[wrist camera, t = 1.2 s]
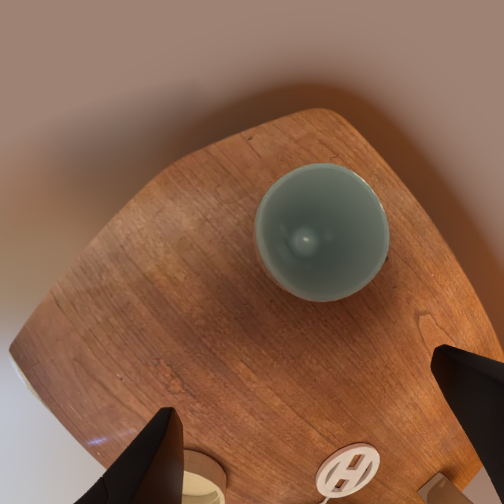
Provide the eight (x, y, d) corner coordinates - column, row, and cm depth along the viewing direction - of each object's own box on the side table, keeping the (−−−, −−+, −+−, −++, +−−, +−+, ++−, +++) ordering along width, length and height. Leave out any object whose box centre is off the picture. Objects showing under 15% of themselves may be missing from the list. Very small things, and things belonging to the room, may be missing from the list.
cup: (310, 186, 25) (346, 141, 16) (352, 262, 25) (411, 257, 15) (234, 227, 25) (228, 200, 15) (278, 306, 25) (301, 329, 15)
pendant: (388, 444, 24) (391, 448, 23) (345, 507, 23) (347, 511, 22) (335, 440, 24) (337, 444, 23) (294, 505, 23) (295, 510, 22)
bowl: (216, 503, 23) (213, 525, 19) (149, 483, 23) (140, 503, 19) (235, 460, 24) (234, 484, 20) (160, 437, 24) (149, 458, 20)
